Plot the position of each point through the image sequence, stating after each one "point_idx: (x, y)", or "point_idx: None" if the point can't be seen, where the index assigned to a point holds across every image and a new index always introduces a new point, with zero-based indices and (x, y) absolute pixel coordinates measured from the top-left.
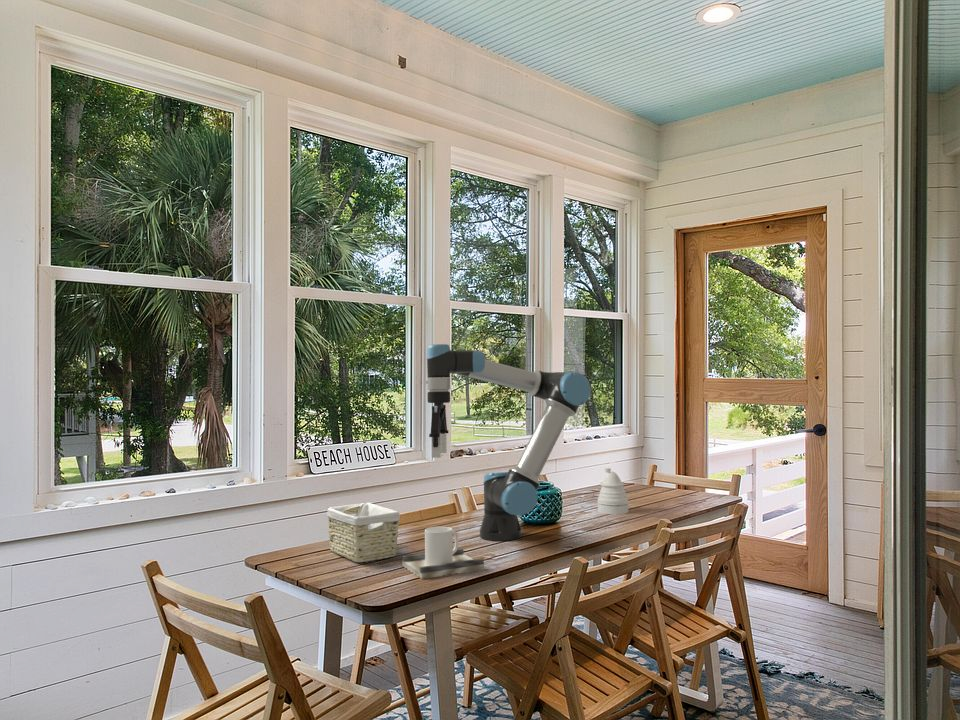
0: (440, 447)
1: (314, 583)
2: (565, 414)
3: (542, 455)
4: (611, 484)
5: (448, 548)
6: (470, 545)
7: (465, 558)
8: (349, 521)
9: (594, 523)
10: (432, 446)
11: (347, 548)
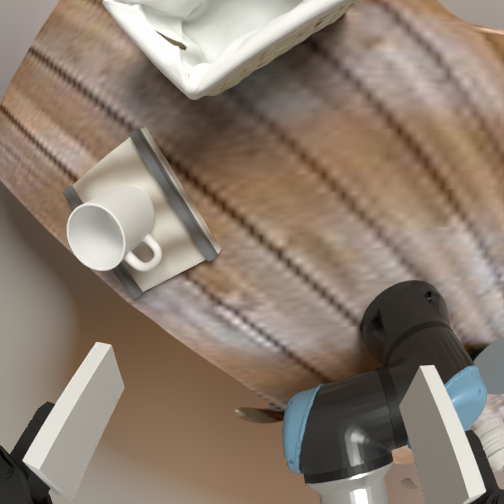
0: (426, 410)
1: (49, 21)
2: None
3: None
4: (489, 460)
5: (101, 246)
6: (334, 263)
7: (171, 262)
8: None
9: None
10: (61, 404)
11: None
